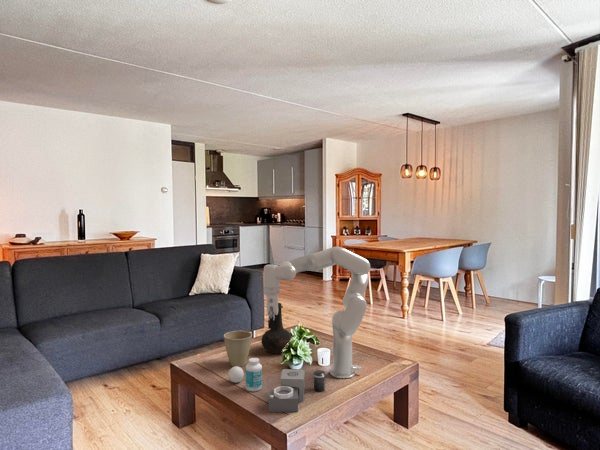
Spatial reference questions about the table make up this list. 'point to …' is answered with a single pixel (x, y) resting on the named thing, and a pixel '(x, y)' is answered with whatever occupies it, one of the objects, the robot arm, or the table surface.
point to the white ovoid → (236, 374)
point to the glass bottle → (276, 335)
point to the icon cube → (294, 381)
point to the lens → (319, 381)
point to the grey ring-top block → (283, 399)
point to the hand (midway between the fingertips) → (272, 325)
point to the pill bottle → (253, 375)
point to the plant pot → (237, 346)
